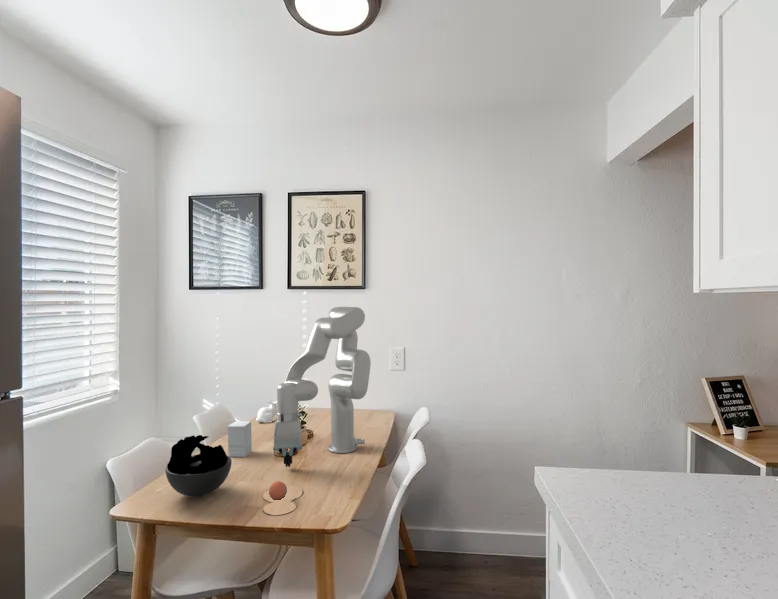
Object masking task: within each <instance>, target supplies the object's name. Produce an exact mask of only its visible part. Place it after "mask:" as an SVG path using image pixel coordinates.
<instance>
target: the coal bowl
mask: <svg viewBox="0 0 778 599" xmlns="http://www.w3.org/2000/svg"><path fill="white" fill-rule="evenodd" d="M209 437H210V436H207V435H204V436H203V435H202V434H198V435H194V434H193V435H191V436H186V437H185V436H184V439H182V438H181V439H179V440H178V441H177V442H176V443H174V445H172V447H171V449H170V451H171V452H170V459H169V462H168V463H167V465H166V466H165V477H166V479H167V481H168V483H169V484H170V487H171V488H172V489H173V490H174V491H176V492H177V493H179V494H180V495H183V496H186V497H189V498H190V497H192V498H199V497H203V496H207V495H209V494H211V493H213V492H214V491H216V490H218V489H219V488H220V487H221V486H222V485H223V484H224V482H225V480H226V479H227V478H228V477H229V474H230V471H231V468H232V462H233V460H232V457H229V456H228V455H227V453H226V451H225V449H224V447H223V446H222V445H221V444H219V445H217V446H216V445H215V446H211V445H205V444H204V443H202V442H203V441H205V440H206V439H209ZM196 449H199V453H198V454H193V453H194V451H195V450H196Z"/></svg>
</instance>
